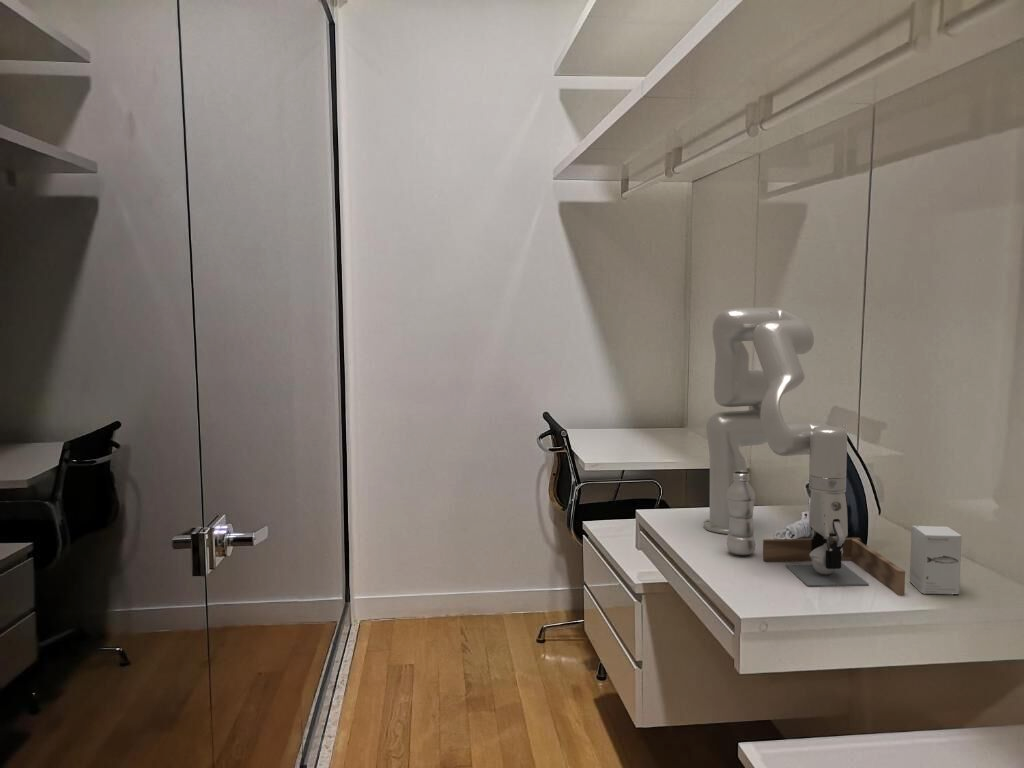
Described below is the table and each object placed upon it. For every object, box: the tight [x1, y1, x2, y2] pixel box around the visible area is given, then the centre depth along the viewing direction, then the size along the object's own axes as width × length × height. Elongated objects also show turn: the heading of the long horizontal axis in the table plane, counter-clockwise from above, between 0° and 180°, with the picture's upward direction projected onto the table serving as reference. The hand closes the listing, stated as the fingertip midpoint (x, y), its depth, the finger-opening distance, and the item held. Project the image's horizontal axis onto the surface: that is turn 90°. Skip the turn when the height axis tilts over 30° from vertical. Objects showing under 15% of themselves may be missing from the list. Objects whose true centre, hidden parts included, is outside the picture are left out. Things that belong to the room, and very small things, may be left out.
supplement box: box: [909, 525, 963, 595], centre depth 161 cm, size 7×7×13 cm
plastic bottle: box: [726, 471, 756, 556], centre depth 185 cm, size 6×7×20 cm
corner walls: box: [762, 537, 906, 596], centre depth 170 cm, size 23×22×5 cm
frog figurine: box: [810, 543, 843, 575], centre depth 170 cm, size 6×7×7 cm
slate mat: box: [785, 563, 870, 588], centre depth 170 cm, size 13×13×1 cm
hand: (825, 561), depth 170 cm, fingers open, 7 cm apart
